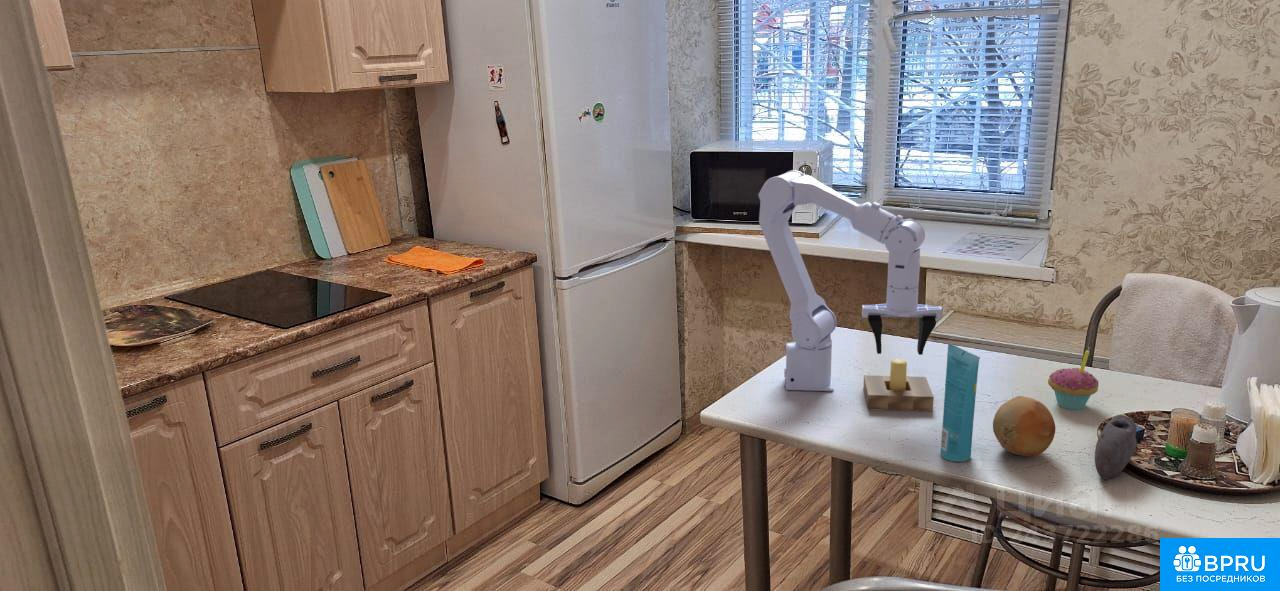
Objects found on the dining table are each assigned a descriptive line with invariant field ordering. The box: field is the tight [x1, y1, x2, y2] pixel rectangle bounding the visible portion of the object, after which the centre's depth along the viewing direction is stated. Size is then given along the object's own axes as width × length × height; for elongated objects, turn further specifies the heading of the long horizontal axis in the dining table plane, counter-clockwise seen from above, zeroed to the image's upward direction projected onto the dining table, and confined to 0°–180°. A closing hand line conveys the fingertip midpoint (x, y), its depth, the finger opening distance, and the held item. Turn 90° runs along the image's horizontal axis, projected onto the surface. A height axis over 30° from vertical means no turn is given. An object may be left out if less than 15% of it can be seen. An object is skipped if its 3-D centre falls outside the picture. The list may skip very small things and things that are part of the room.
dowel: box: [889, 358, 908, 390], centre depth 170 cm, size 3×3×8 cm
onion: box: [992, 395, 1056, 457], centre depth 147 cm, size 10×10×10 cm
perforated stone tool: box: [1094, 414, 1138, 480], centre depth 142 cm, size 15×5×7 cm, turn 140°
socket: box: [862, 374, 935, 412], centre depth 171 cm, size 12×10×3 cm
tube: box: [940, 342, 981, 463], centre depth 146 cm, size 7×5×19 cm, turn 26°
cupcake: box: [1047, 346, 1099, 411], centre depth 164 cm, size 9×8×12 cm
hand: (899, 352), depth 169 cm, fingers open, 7 cm apart
